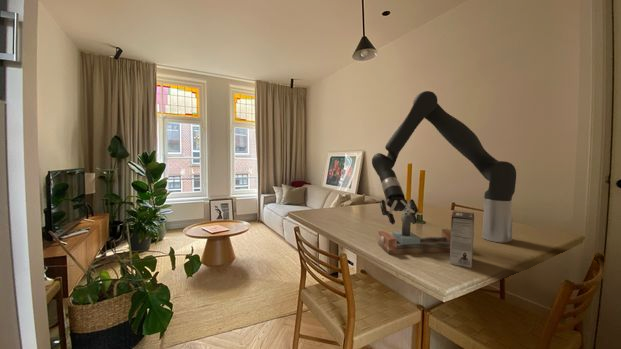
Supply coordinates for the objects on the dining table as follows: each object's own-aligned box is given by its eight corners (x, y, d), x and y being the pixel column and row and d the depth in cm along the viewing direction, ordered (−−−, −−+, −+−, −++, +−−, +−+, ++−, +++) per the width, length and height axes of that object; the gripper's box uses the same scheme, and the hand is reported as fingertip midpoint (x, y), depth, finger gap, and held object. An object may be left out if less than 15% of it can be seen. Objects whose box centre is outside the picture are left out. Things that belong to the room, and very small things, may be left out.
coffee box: (450, 254, 89) (452, 210, 88) (471, 258, 85) (474, 212, 84) (449, 264, 81) (451, 215, 80) (472, 268, 78) (475, 218, 76)
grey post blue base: (409, 237, 99) (410, 212, 98) (420, 244, 91) (420, 217, 90) (392, 237, 98) (393, 212, 97) (401, 244, 90) (402, 217, 90)
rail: (449, 241, 102) (449, 228, 101) (466, 251, 92) (467, 236, 91) (377, 244, 99) (377, 231, 98) (387, 254, 89) (387, 239, 88)
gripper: (378, 184, 103) (389, 218, 92) (411, 184, 104) (425, 217, 93) (374, 195, 108) (383, 228, 98) (405, 195, 110) (417, 227, 99)
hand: (404, 223), depth 96 cm, fingers open, 8 cm apart
